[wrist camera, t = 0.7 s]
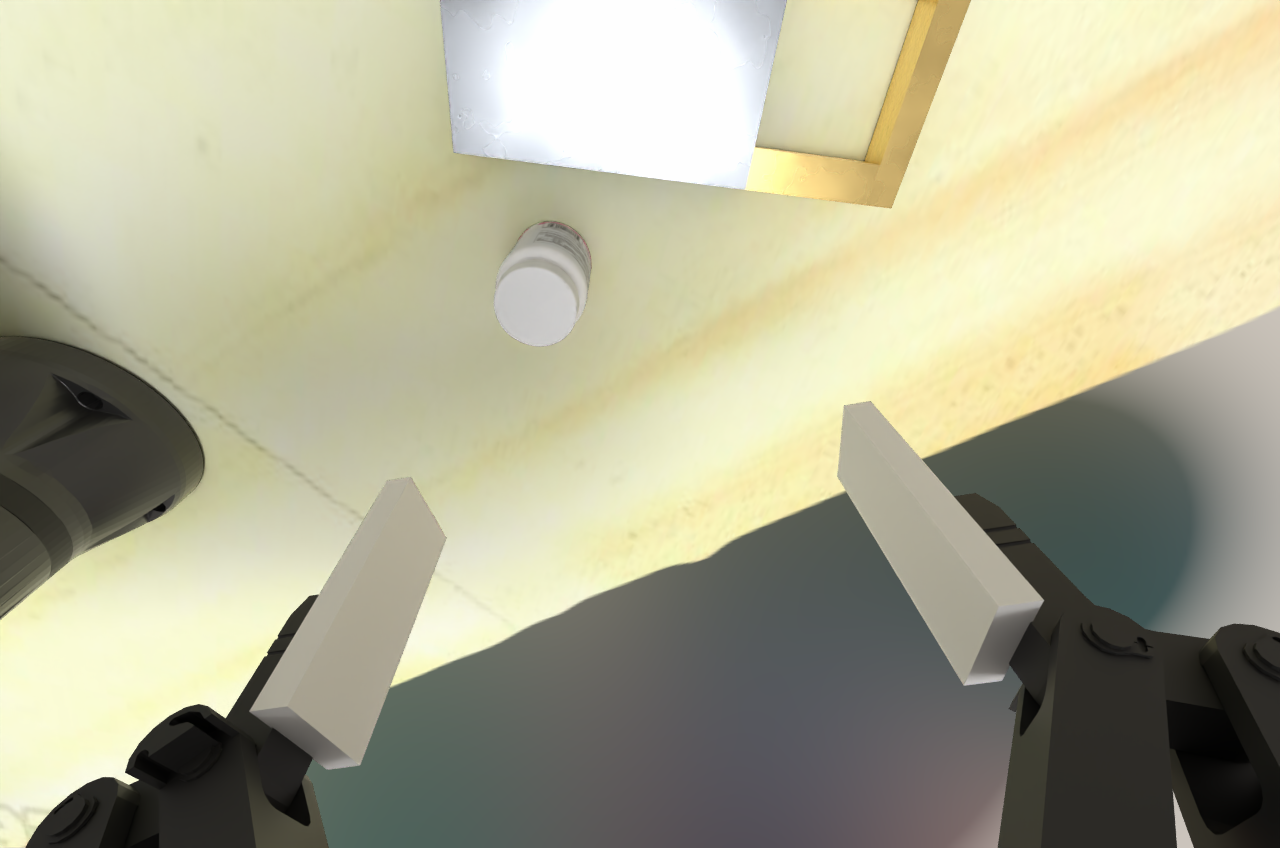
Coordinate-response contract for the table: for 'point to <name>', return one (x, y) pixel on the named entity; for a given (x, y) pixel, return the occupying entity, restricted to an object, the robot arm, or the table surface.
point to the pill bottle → (543, 284)
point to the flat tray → (667, 92)
